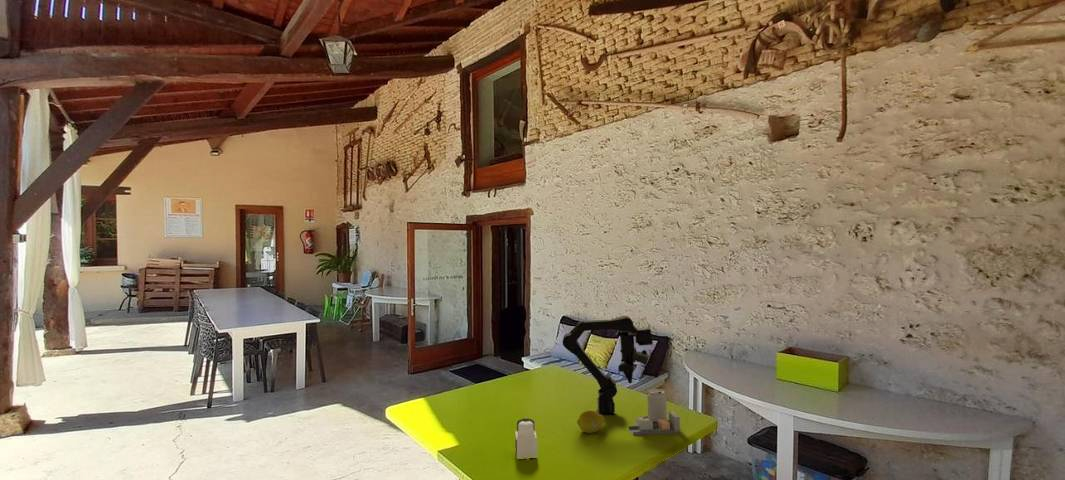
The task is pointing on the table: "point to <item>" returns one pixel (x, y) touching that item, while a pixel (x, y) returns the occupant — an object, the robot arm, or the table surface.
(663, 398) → the can
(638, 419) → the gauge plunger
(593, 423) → the lemon
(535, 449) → the medicine bottle
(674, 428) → the gauge bench
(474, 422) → the table surface
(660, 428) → the block
